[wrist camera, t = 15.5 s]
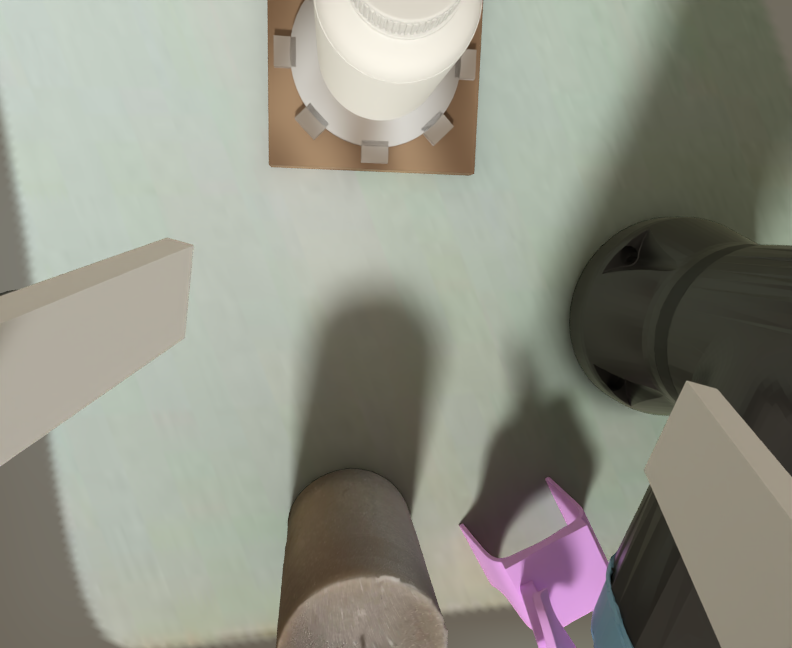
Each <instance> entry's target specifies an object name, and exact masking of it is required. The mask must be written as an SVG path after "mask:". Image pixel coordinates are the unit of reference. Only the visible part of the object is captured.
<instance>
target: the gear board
mask: <svg viewBox="0 0 792 648" xmlns="http://www.w3.org/2000/svg"><path fill="white" fill-rule="evenodd" d="M482 13H483V1H482V10H481V15H480V19H479V23H478V26H477V29H476V31H475V34H474V36H473V38H472V40H471V42H470V44H469V45H468V47H467V49H466V50H465V51H464V53H463V54H462V56H461V57H460V58H459V59H458V61H457V62H456V63H455V64H454V66H453V67H452V68H451V69H450V71H449V72H448V73H447V74H446V76H445V77H444V78H443V79H442V81H441V82H440V83H439V84H438V86H437V87H436V88H435V89H434V91H433V92H432V93H431V94H430V96H429V97H428V98H427V99H426V101H425V102H424V103H423V104H422V105H420V106H419V107H418V108H417V109H415V110H414V111H412V112H411V113H409V114H407V115H405V116H402V117H400V118H396V119H392V120H383V121H380V120H371V119H366V118H363V117H360V116H358V115H356V114H354V113H352V112H350V111H349V110H347V109H346V108H345V107H343V106H342V105H341V104H340V103H339V102H338V101H337V100H336V99H335V98H334V96H333V95H332V94H331V92H330V91H329V89H328V87H327V85H326V84H325V81H324V79H323V77H322V74H321V71H320V67H319V62H318V53H317V40H316V27H315V15H314V2H313V0H268V111H269V165H270V166H271V167H283V168H306V169H330V170H353V171H376V172H400V173H423V174H446V175H472V174H474V167H475V148H476V128H477V109H478V90H479V71H480V52H481V33H482Z"/></svg>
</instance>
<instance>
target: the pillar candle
mask: <svg viewBox="0 0 792 648" xmlns="http://www.w3.org/2000/svg"><path fill="white" fill-rule="evenodd" d="M287 532H288V534H287V542H286V547H285V557H284V564H283V575H282V586H281V598H280V607H279V618H278V627H277V642H276V648H447V646H448V644H447V636H448V629H446V628H445V624H444V618H443V615H442V614H441V611H440V608H439V606H438V602H437V599H436V596H435V593H434V589H433V586H432V583H431V580H430V577H429V574H428V570H427V567H426V564H425V561H424V557H423V554H422V551H421V548H420V545H419V541H418V538H417V535H416V532H415V529H414V526H413V523H412V520H411V517H410V514H409V510H408V507H407V504H406V502H405V501H404V499H403V497H402V495H401V493H400V492H399V491H398V490H397V489H396V488H395V487H394V485H393V484H391V483H390V482H389V481H388V480H387V479H385V478H384V477H382V476H380V475H378V474H376V473H374V472H371V471H367V470H361V469H344V470H338V471H334V472H331V473H329V474H326V475H324V476H321V477H320V478H318V479H316V480H315V481H313V482H312V483H311V484H310V485H308V486H307V487H306V488H305V489H304V490H303V491H302V492H301V493H300V494H299V496H298V497H297V498H296V500H295V502H294V503H293V505H292V508H291V511H290V513H289V518H288V531H287Z"/></svg>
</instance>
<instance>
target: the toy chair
mask: <svg viewBox="0 0 792 648" xmlns="http://www.w3.org/2000/svg"><path fill="white" fill-rule="evenodd" d="M545 480H546V482H547V484H548V486H549V488H550V490H551V492H552V494H553V496H554V498H555V501H556V503H557V505H558V507H559V509H560V511H561V513H562V515H563V517H564V519H565V521H566V523H567V526H566V527H564V528H562V529H561V530H559V531H557V532H556V533H554V534H553V535H551V536H550V537H548V538H546V539H544V540H543V541H541V542H539V543H537V544H535V545H533V546H531V547H529V548H526V549H524V550H522V551H520V552H518V553H516V554H514V555H511V556H509V557H506V558H496V557H493V556H491V555H490V554H489V553H488V552H487V551H486V550H485V549H484V548H483V547H482V546H481V545H480V544H479V543H478V541H477V540H476V539H475V538H474V537H473V535H472V534H471V533H470V532H469V530H468V529H467V528H466V527H465V525H464V524H463V523H462V524H460V525H459V526H460V528H461V530H462V532H463V534H464V536H465V537H466V539H467V541H468V543H469V545H470V547H471V549H472V550H473V552H474V554H475V556H476V558H477V560H478V562H479V563H480V565H481V567H482V569H483V571H484V573H485V575H486V576H487V578H488V580H489V582H490V584H491V585H492V586H494V587H495V588H497V589H498V590H499V591H500V592H502V593H503V595H504V596H505V597H506V598H507V599H508V600H509V602H510V603H511V604H512V606H513V607H514V609H515V610H516V611H517V613H518V614H519V616H520V617H521V618H522V620H523V621H524V622H525V623H526V625H527V626H528V627H529V628H531V629H533V632H534V635H535V638H536V642H537V645H538V648H576V646H575V645H574V643H573V641H572V640H571V638H570V637H569V635H568V634H567V633H566V631H565V629H564V628H563V627H565V626H566V625H568V624H569V623H571V622H572V621H574V620H576V619H578V618H580V617H582V616H584V615H585V614H587V613H589V612H591V611H593V610H594V608H595V605H596V603H597V600H598V598H599V595H600V593H601V591H602V588H603V586H604V583H605V581H606V570H607V566H608V561H607V559H606V557H605V554H604V552H603V550H602V548H601V546H600V544H599V542H598V540H597V538H596V536H595V533H594V531H593V529H592V527H591V525H590V523H589V521H588V519H587V517H586V515H585V513H584V510H583V509H582V507H581V506H580V505H579V504H578V503H577V502H576V501H575V500H574V499H573V498H572V497H571V496H569V495H568V494H567V493H566V492H565V491H564V490H563V489H562V488H561V487H560V486H559V485H558V484H556V483H555V482H554V481H553V480H552V479H551V478H550V477H547V478H545Z"/></svg>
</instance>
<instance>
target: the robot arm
mask: <svg viewBox="0 0 792 648" xmlns="http://www.w3.org/2000/svg"><path fill="white" fill-rule="evenodd" d="M193 247H194V245H192V244H188V243H184V242H181V241H177V240H173V239H170V238H165V239H162V240H159V241H156V242H153V243H150V244H147V245H145V246H142V247H139V248H136V249H133V250H130V251H127V252H125V253H122V254H119V255H116V256H113V257H110V258H107V259H105V260H102V261H99V262H96V263H93V264H90V265H87V266H85V267H82V268H79V269H76V270H73V271H70V272H67V273H65V274H62V275H59V276H56V277H53V278H50V279H48V280H45V281H42V282H39V283H36V284H33V285H30V286H28V287H25V288H22V289H19V290H11V291H6V292H4V293H1V294H0V466H1V465H3V464H4V463H6V462H7V461H9V460H10V459H11V458H13V457H14V456H16V455H17V454H18V453H20V452H21V451H23V450H24V449H26V448H27V447H29V446H30V445H31V444H33V443H34V442H36V441H37V440H39V439H40V438H42V437H43V436H44V435H46V434H47V433H49V432H50V431H52V430H53V429H54V428H56V427H57V426H59V425H60V424H62V423H63V422H65V421H66V420H67V419H69V418H70V417H72V416H73V415H75V414H76V413H77V412H79V411H80V410H82V409H83V408H85V407H86V406H88V405H89V404H90V403H92V402H93V401H95V400H96V399H98V398H99V397H100V396H102V395H103V394H105V393H106V392H108V391H109V390H111V389H112V388H113V387H115V386H116V385H118V384H119V383H121V382H122V381H123V380H125V379H126V378H128V377H129V376H131V375H132V374H134V373H135V372H136V371H138V370H139V369H141V368H142V367H144V366H145V365H146V364H148V363H149V362H151V361H152V360H154V359H155V358H157V357H158V356H159V355H161V354H162V353H164V352H165V351H167V350H168V349H169V348H171V347H172V346H174V345H175V344H177V343H178V342H180V341H181V340H182V339H184V338H185V329H186V319H187V308H188V298H189V288H190V278H191V268H192V258H193ZM570 335H571V341H572V345H573V349H574V352H575V355H576V358H577V360H578V362H579V364H580V366H581V368H582V369H583V371H584V373H585V374H586V375H587V377H588V378H589V379H590V380H591V381H592V383H593V384H594V385H595V386H596V387H598V388H599V389H600V390H601V391H602V392H604V393H605V394H607V395H608V396H610V397H612V398H613V399H615V400H617V401H618V402H620V403H622V404H624V405H625V406H627V407H630V408H632V409H635V410H637V411H641V412H644V413H648V414H653V415H665V416H669V418H668V420H667V422H666V424H665V427H664V429H663V431H662V433H661V435H660V437H659V439H658V441H657V443H656V446H655V448H654V450H653V452H652V454H651V456H650V458H649V460H648V462H647V464H646V467H645V469H644V472H645V474H646V476H647V478H648V481H649V483H650V485H649V487H648V489H647V491H646V493H645V495H644V497H643V499H642V501H641V504H640V506H639V508H638V510H637V512H636V514H635V516H634V518H633V520H632V522H631V524H630V526H629V528H628V530H627V532H626V534H625V537H624V539H623V541H622V543H621V545H620V547H619V549H618V551H617V552H616V553H615V554H614V555H613V556H612V557H611V559H610V561H609V563H608V566H607V570H606V581H605V583H604V586H603V588H602V591H601V593H600V595H599V598H598V600H597V603H596V605H595V608H594V611H593V615H592V620H591V633H592V637H593V641H594V648H792V246H790V245H759V244H757V243H755V242H753V241H751V240H750V239H748V238H746V237H744V236H742V235H740V234H738V233H737V232H735V231H733V230H731V229H729V228H727V227H725V226H723V225H721V224H719V223H716V222H713V221H709V220H705V219H701V218H695V217H662V218H654V219H650V220H646V221H642V222H639V223H637V224H634V225H632V226H630V227H628V228H626V229H624V230H622V231H621V232H619V233H618V234H616V235H615V236H613V237H612V238H611V239H610V240H608V241H607V242H606V243H605V244H604V245H603V246H602V247H601V248H600V249H599V250H598V251H597V252H596V253H595V254H594V256H593V257H592V258H591V260H590V261H589V262H588V264H587V265H586V267H585V269H584V270H583V272H582V274H581V276H580V278H579V281H578V283H577V285H576V288H575V291H574V295H573V298H572V303H571V309H570Z"/></svg>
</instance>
